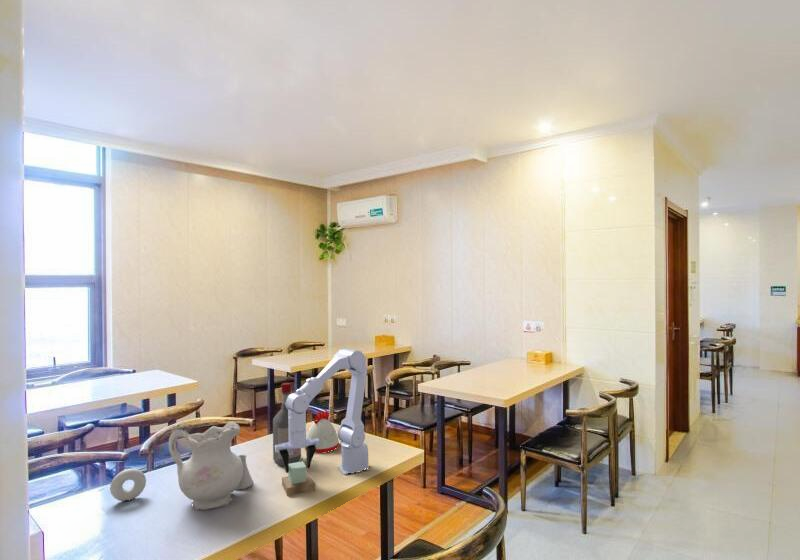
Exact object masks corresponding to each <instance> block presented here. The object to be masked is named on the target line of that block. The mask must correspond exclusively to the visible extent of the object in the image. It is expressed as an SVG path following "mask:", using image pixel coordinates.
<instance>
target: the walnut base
mask: <svg viewBox="0 0 800 560" xmlns="http://www.w3.org/2000/svg"><path fill="white" fill-rule="evenodd" d="M281 485H282V488H283V490H284V493H285V494H286V497H289V496H294V495H299V494H303V493H308V492H313V491H315V482H314V479H313V478H312V476H311V475H310V473H309V472H306V482H301V483H296V484H291V483H290V481H289V479H288V476H282V477H281Z"/></svg>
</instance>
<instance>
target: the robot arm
mask: <svg viewBox="0 0 800 560" xmlns="http://www.w3.org/2000/svg"><path fill="white" fill-rule="evenodd" d="M366 360H367V357H366V355H365V354H364V352H362V351H360V350H355V349H350V348H346V347H343V348H340V349H339V350H338V351H337V352H336V353H334V355H333V358H331V360H330V361H329V362H328V363H327V365H326V366H325V367H323V369H321V371H320V373H319V374H318V375H317V376H315V377H314V376H312V377H310V378H307V379H305V381H306V382H304V384H303V385H302V386H300V387H299V388H297V389H296V391H295V392H291V394H290V395H289V396H288V397H287V400H286V402H285V406H286V408H287V409H288V423H289V442H286V443H282V444H279V445H275V452H276V453H278V452H280V454H281V456H282V459H283V461H284V465H285V466H284V468H285V469H284V470H285V473H286V474H288V473H289V464H288V462H289V454H288V451H287V450H292V449H298V448H301V449H302V448H303V449H305V447H306V450H305V451H306V452H305V453H306V458H305V459H306V461H305V462H306V463H305V466H306V470H310V469H311V464H312V460H313V458H314V455H315V454H316V453H315V452H316V447H315V446H319V439H318V438H317V439H306V436H307V426H306V425H307V420H306V419H307V418H306V417H307V414H306V413H307V412H306V411H307V410H308V409H309V406H310V403H312V402H311V401H312V400H314V398H315V397H316V396H317V395H318V394H319V393H320V392H321V391H322V390H323V389H324V388H323V387H324V384H325V383H326V382H328V380H330V378H332V377H333V376H334V375H335V374H336V373H338V372H339V370H347V371H348V372H349V373H350V374H351V378H350V386H349V391H348V393H349V394H348V399H347V406H346V407H347V408H346V412H345V418H343V419H342V420H341V422H340V426H339V428H338V430H337V437H338V440H340V444H341V464H338V466H337V467H338V469H339V470H340V471H341V472H342V474H343V475H345V474H346V475H349V474H348V473H351V474H354V473H353V472H356V473H359V472H358V471H361V472H363V471H362V470H364V469H365V468H366V469H367V468H369V449H368V445H367V443H365V439H366V433H365V425H364V422H363V421H362V412H363V404H364V399H365V398H364V396H365V390H366V383H367V382H366V381H367V376H368V368H367V364H366ZM366 469H365V470H366ZM366 471H367V470H366Z"/></svg>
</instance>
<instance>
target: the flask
mask: <svg viewBox="0 0 800 560" xmlns="http://www.w3.org/2000/svg"><path fill="white" fill-rule="evenodd" d="M238 456H239V457H240V458H241V460H242V463H243V476H242V479H241V481H240V483H239V485H238V486H237V488H236V489H235V491H236V490H237V491H238V490H246V489H249V487H252V486H253V484H254V480H253V478H252V476H251V473H250V470H249V468H248V464H247V454H239V455H238Z"/></svg>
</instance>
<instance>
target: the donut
mask: <svg viewBox="0 0 800 560" xmlns="http://www.w3.org/2000/svg"><path fill="white" fill-rule="evenodd" d="M127 481H132V482H133V483H134V484H133V486H132V487H131V488H129V489H125V488H123V487H124V486H123V485H124V483H125V482H127ZM146 483H147V478H146V475H145V473H144V472H143V471H141V470H140V469H137V468H128V469H124V470H121V471H120V472H119V473H117V474H116V475H115V476H114V477H113V478H112V481H111V483H110V486H109V487H110V488H109V491H110V494H111V496H112V497H113V498H114V499H115V500H117V501H120V502H125V501H124V500H129V499H132V500H134V499H136V498H137V497H139V496H140V495H141V494H142V493H143V492H144V489H145V487H146ZM135 497H136V498H135ZM133 498H134V499H133ZM129 501H130V500H129Z"/></svg>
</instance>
